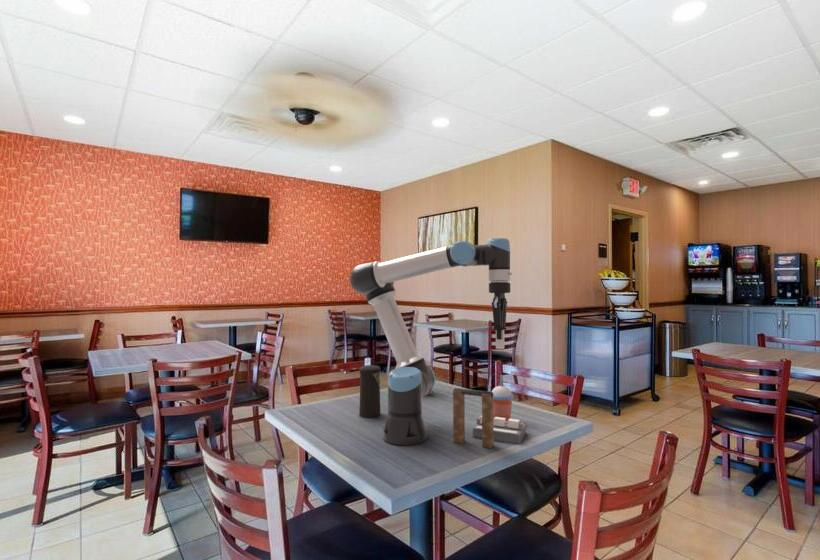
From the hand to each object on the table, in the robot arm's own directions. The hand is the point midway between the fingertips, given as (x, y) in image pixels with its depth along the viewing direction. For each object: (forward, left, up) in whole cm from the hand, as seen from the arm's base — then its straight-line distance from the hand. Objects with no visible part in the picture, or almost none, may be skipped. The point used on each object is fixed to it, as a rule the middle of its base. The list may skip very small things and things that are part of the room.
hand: (500, 348), depth 153 cm
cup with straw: (-3, +15, -31) cm, 34 cm away
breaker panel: (0, 0, -31) cm, 31 cm away
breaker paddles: (0, 0, -27) cm, 27 cm away
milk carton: (-52, +43, -31) cm, 74 cm away
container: (-54, +1, -31) cm, 62 cm away
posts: (-6, -12, -31) cm, 33 cm away
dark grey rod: (-6, -12, -15) cm, 20 cm away
